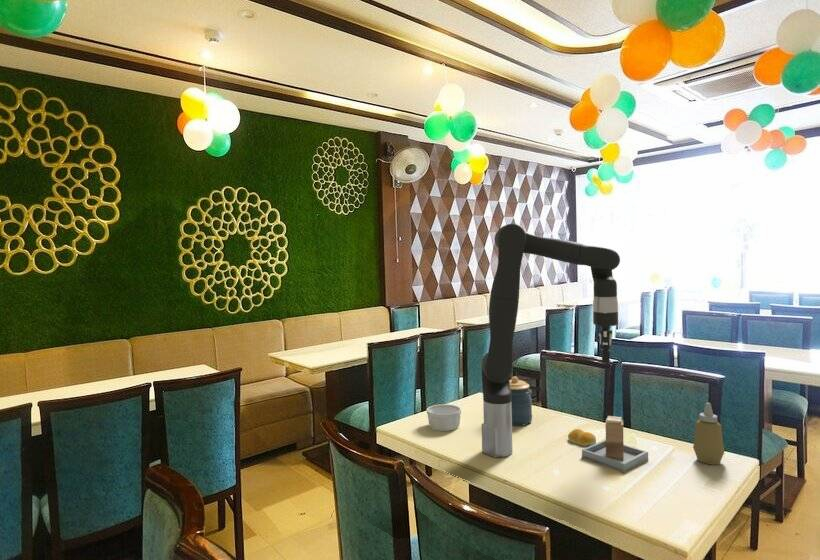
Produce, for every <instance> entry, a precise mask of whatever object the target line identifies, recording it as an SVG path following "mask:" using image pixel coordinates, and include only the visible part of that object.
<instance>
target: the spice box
mask: <svg viewBox="0 0 820 560" xmlns="http://www.w3.org/2000/svg"><path fill="white" fill-rule="evenodd" d="M605 439H606V457H608V458H611V459H618V460H624V447H623V444H624V419H622V416H613V415H607V418H605Z"/></svg>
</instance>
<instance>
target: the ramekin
mask: <svg viewBox="0 0 820 560" xmlns="http://www.w3.org/2000/svg"><path fill="white" fill-rule="evenodd" d="M461 414H462V408H461V407H460V406H458V405H455V404H449V403H447V404H446V403H445V404H444V403H441V404H435V405H431V406H428V407H427V408H426V415H427V419H428V425H429V427H430V428H431V429H432V430H433V429H434V430H433V431H436V430H439V431H438V432H450V431H449V430H452V431H454V430H453V429H455V430H457V429H458V428H459V427H460V424H461V423H460V422H461ZM456 428H457V429H456Z"/></svg>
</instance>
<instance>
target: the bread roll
mask: <svg viewBox="0 0 820 560" xmlns="http://www.w3.org/2000/svg"><path fill="white" fill-rule="evenodd" d="M567 438H568V440H569V441H570V442H571V443H573V444H576V445H579V446H580V447H581V446H582V447H589V446H592V445H594V444H596V443H597V438H596V436H595V434H594V433H592V432H589V431H584V430H582V429H580V428H575V429H572V430H571V431H570V432H569V433H568V435H567Z"/></svg>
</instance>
